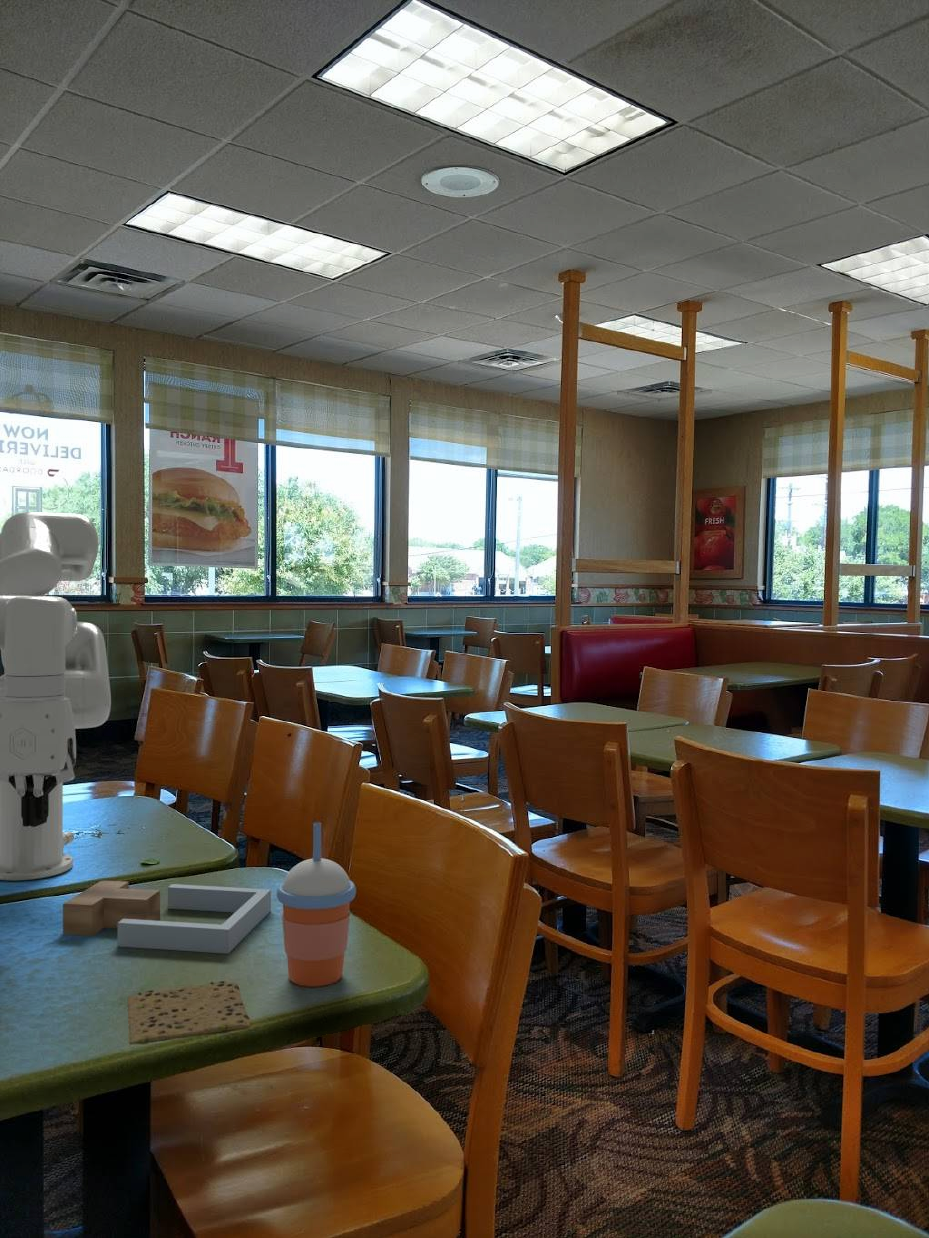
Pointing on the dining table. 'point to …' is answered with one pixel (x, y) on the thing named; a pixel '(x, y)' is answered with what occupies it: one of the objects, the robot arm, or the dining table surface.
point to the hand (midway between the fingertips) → (34, 824)
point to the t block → (108, 907)
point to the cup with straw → (316, 918)
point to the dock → (197, 935)
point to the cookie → (185, 1012)
